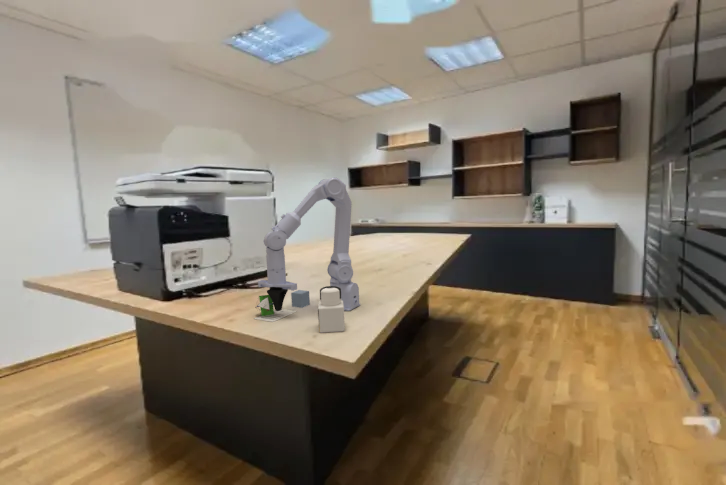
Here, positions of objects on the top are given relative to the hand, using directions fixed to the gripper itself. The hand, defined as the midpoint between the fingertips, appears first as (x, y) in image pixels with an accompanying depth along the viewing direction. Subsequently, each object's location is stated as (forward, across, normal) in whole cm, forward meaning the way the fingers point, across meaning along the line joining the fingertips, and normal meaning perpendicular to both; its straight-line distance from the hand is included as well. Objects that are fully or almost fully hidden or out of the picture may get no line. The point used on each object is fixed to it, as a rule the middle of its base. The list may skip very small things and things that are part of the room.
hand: (278, 310), depth 118 cm
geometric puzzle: (+2, -5, 0) cm, 5 cm away
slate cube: (+2, -1, +13) cm, 13 cm away
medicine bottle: (+2, +22, -3) cm, 23 cm away
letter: (+2, -2, 0) cm, 3 cm away
